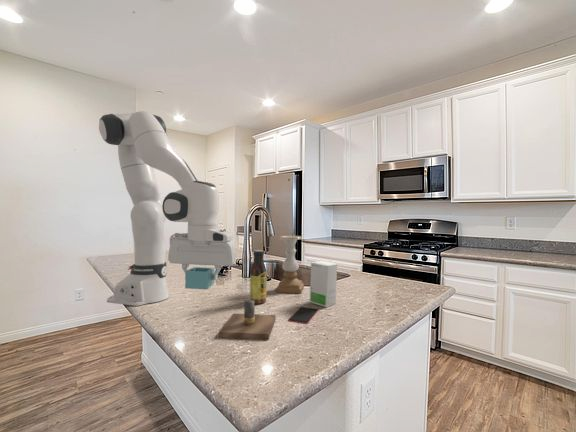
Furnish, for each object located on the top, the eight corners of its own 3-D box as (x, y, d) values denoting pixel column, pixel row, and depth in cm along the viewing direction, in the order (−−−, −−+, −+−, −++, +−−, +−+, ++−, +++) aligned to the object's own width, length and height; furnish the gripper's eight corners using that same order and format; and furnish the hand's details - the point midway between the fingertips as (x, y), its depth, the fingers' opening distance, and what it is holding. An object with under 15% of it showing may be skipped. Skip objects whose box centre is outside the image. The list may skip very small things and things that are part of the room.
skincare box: (309, 302, 107) (309, 262, 107) (319, 298, 112) (319, 260, 112) (327, 307, 102) (327, 265, 102) (337, 303, 107) (337, 262, 106)
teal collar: (185, 288, 82) (185, 271, 82) (193, 282, 88) (194, 266, 88) (207, 289, 82) (208, 272, 82) (214, 283, 88) (214, 267, 88)
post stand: (218, 337, 78) (218, 308, 78) (233, 318, 92) (233, 293, 92) (268, 339, 77) (268, 310, 76) (275, 319, 91) (275, 295, 90)
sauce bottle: (263, 305, 104) (263, 252, 104) (247, 304, 106) (247, 251, 105) (268, 299, 111) (268, 249, 111) (253, 298, 112) (253, 249, 112)
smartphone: (319, 309, 100) (307, 323, 87) (319, 310, 100) (307, 325, 87) (300, 306, 103) (286, 320, 90) (300, 308, 103) (286, 322, 90)
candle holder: (304, 287, 130) (304, 235, 129) (301, 293, 119) (301, 237, 118) (280, 285, 132) (281, 235, 131) (275, 292, 121) (276, 237, 120)
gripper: (164, 233, 83) (163, 279, 83) (232, 236, 82) (230, 283, 82) (174, 232, 90) (173, 275, 90) (237, 234, 88) (236, 278, 88)
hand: (201, 279), depth 86 cm, fingers closed on teal collar, 7 cm apart
